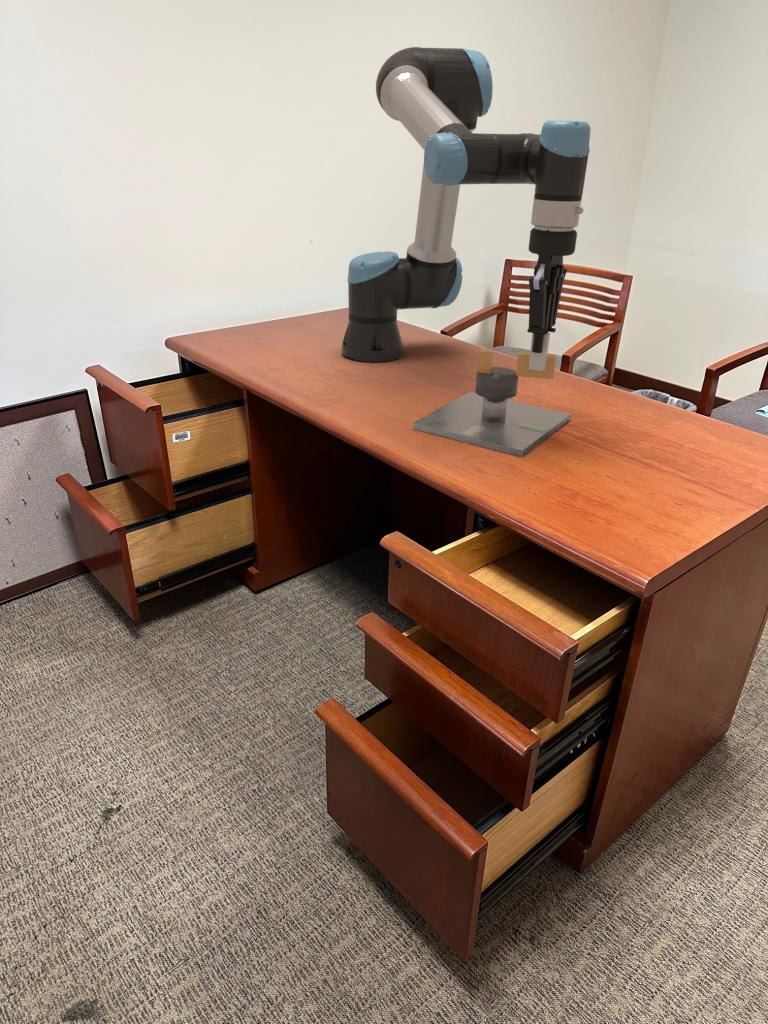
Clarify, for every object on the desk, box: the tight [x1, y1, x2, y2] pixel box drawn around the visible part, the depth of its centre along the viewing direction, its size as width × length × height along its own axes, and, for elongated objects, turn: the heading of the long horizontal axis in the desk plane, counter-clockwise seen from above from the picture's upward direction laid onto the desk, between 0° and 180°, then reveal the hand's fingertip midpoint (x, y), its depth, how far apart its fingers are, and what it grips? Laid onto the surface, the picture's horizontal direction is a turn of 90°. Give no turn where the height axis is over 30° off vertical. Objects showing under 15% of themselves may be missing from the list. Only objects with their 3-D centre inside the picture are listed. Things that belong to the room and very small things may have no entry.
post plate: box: [412, 391, 572, 458], centre depth 138 cm, size 22×22×6 cm
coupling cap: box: [474, 348, 557, 400], centre depth 134 cm, size 14×8×8 cm, turn 77°
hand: (536, 369), depth 130 cm, fingers closed
